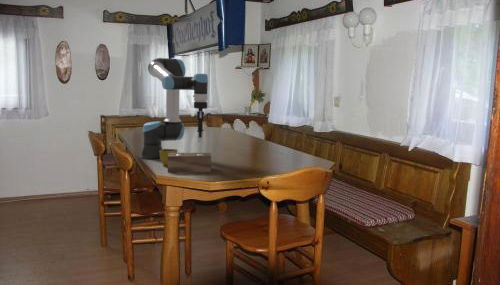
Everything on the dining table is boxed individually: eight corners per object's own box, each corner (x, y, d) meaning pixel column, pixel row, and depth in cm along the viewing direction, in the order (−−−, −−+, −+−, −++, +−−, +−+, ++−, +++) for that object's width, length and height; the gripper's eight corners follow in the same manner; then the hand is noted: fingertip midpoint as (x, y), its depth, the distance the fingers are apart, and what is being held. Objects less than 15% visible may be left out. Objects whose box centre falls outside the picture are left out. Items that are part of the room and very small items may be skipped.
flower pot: (158, 165, 249) (158, 150, 248) (163, 162, 258) (163, 148, 256) (173, 166, 248) (173, 151, 247) (177, 163, 256) (177, 149, 255)
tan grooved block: (169, 167, 243) (169, 152, 242) (210, 167, 246) (210, 152, 245) (167, 172, 231) (167, 156, 230) (211, 172, 234) (211, 156, 233)
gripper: (194, 100, 240) (193, 140, 244) (193, 102, 227) (193, 144, 231) (207, 100, 241) (206, 141, 245) (207, 102, 228) (206, 144, 232)
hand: (200, 142), depth 238 cm, fingers closed
